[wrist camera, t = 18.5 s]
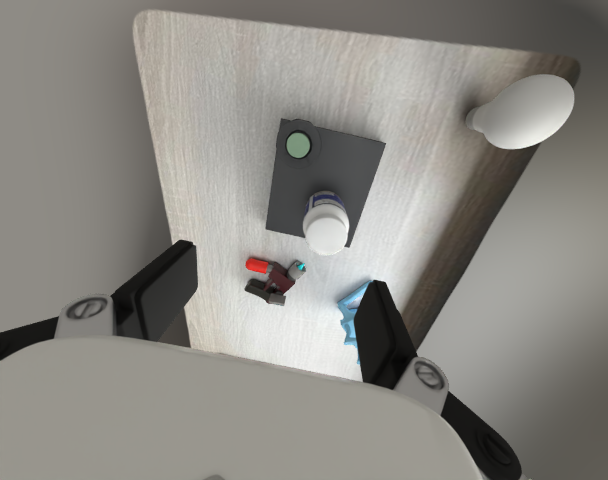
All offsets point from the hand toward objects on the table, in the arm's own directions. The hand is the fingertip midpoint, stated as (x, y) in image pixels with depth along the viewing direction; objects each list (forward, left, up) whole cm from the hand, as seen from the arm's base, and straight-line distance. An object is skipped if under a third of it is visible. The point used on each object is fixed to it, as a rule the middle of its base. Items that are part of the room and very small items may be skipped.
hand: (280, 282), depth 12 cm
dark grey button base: (0, +2, -24) cm, 24 cm away
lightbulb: (-13, +19, -24) cm, 33 cm away
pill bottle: (+3, +3, -23) cm, 23 cm away
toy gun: (+17, -3, -24) cm, 30 cm away
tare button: (-5, -2, -21) cm, 22 cm away
